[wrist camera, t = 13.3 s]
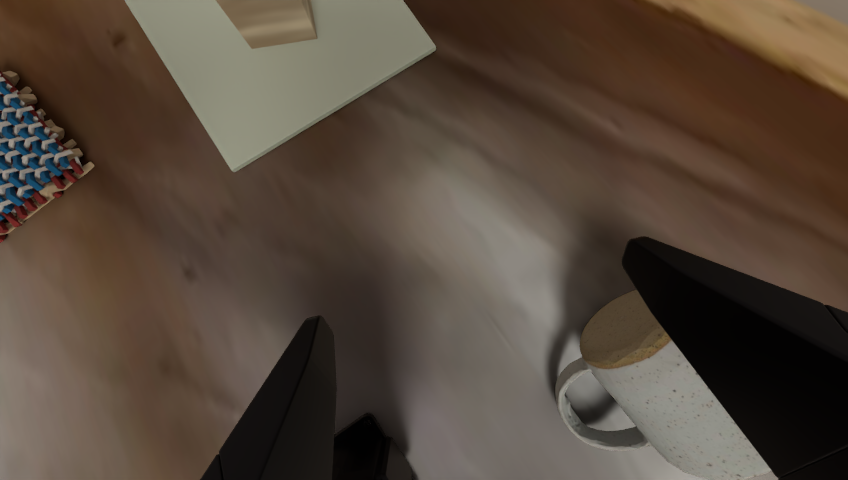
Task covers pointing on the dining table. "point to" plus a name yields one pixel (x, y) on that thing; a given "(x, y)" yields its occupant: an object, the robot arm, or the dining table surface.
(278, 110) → the sage placemat
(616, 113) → the dining table surface
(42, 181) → the woven mat
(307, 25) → the beige rectangular block
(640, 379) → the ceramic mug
